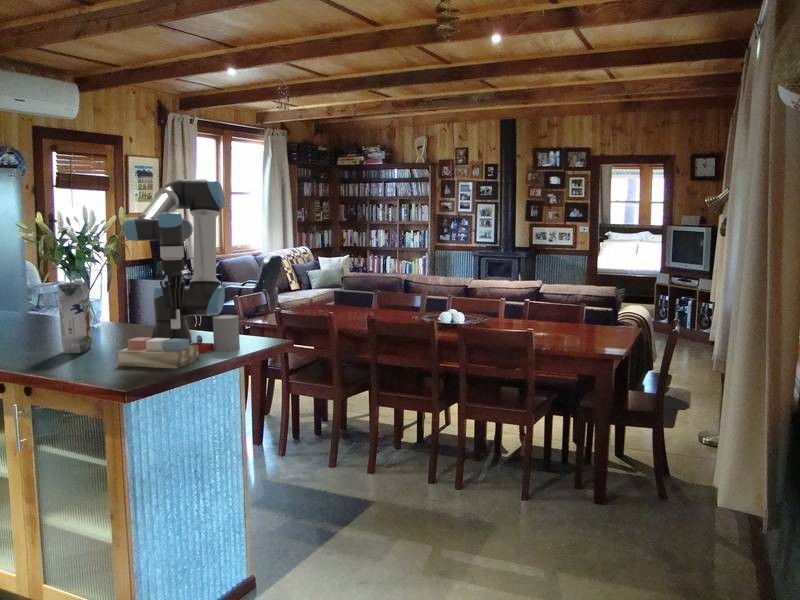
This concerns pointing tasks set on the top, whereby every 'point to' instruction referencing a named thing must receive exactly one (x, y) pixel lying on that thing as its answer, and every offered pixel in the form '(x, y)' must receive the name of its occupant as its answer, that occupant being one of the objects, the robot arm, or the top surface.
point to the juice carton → (74, 316)
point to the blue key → (176, 344)
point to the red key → (137, 343)
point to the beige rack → (158, 357)
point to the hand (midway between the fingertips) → (175, 328)
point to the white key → (156, 343)
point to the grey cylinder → (226, 333)
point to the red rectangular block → (203, 345)
